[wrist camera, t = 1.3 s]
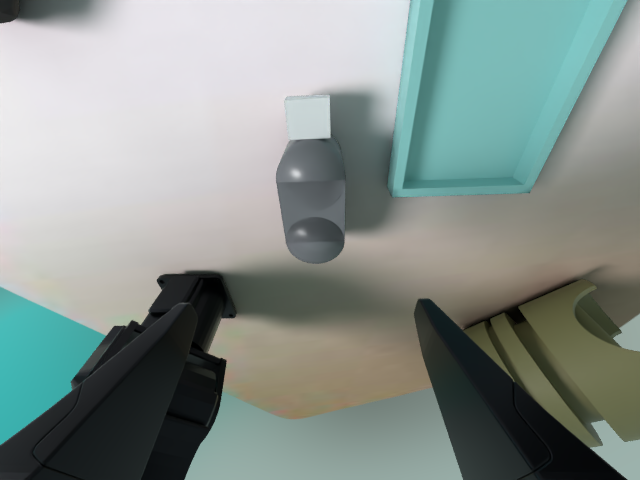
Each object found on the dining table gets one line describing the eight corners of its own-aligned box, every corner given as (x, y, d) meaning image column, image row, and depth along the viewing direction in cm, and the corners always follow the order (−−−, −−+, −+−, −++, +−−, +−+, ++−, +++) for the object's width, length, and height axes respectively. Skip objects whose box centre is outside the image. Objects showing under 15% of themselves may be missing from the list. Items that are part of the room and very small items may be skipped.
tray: (513, 182, 18) (529, 193, 17) (387, 186, 18) (392, 197, 17) (689, -209, 9) (759, -260, 8) (433, -184, 9) (453, -227, 8)
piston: (598, 312, 27) (737, 442, 18) (489, 352, 32) (553, 468, 23) (565, 257, 22) (727, 394, 13) (444, 315, 28) (502, 440, 19)
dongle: (341, 231, 21) (343, 263, 18) (295, 232, 21) (289, 264, 18) (342, 91, 15) (346, 100, 12) (277, 94, 15) (263, 104, 12)
